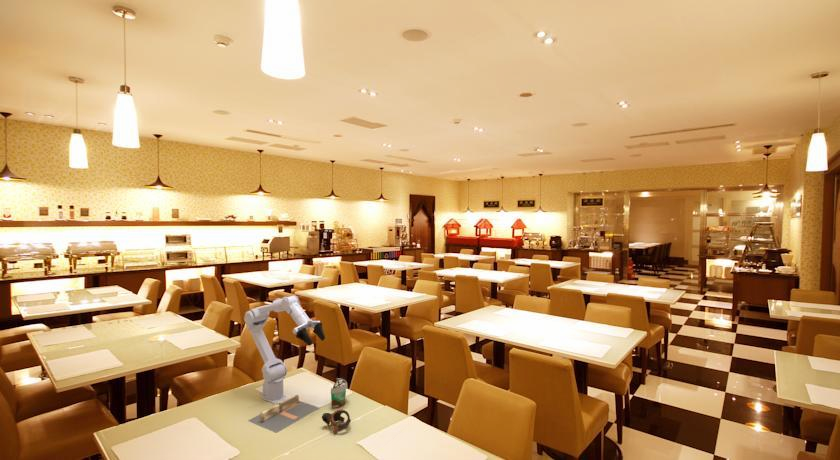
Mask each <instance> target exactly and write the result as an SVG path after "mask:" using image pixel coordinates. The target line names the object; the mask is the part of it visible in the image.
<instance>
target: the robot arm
mask: <svg viewBox="0 0 840 460" xmlns="http://www.w3.org/2000/svg"><path fill="white" fill-rule="evenodd" d="M284 311H285V312H286V313H287V314H289V315H290V317H291V319H292V320H293V321H294V322H295V324H296V325H297V326H296V327H294V328H293V329H292V333H293V334H294V335H295V338H296V339H298V340H301V341H303V343H305V344H306V345H308V346H311V345H312V344H313V340H312V339H311V337H310V335H309V334H308V331H307V330H310V329H312V328H313V330H312V333H314V334H315V335H316V336H317V337H318V338H319V339H320V340H321V341H324V340H325V339H326V336H325V333H324V330H323V323H322V322H321V321H320V320H313V319H310V317H309V316H308V315H307V313H306V312H305V310H304V309H303V307H302V306H301V305H300V300H299V297H298V296H297V295H291V296H283V297H282V298H280V297H278V298H277V297H276V298H275V299H274V300H273V301H272V303H270V304H265V305H262V306H261V305H260V306H258V307H255V308H252V309H250V310H247V311H246V312H245V313H244V317H243V319H244V322H245V325H246V327H247V329H248V331H249V332H250V335H251V337H252V339H253V341H254V344H255V346H256V348H257V351H258V352H259V354H260V356H261V359H262V361H263V366H262V368H261V372H262V378H263V380H264V381H263V383H262V396H261V397H260V398H261V400H264V401H266V402H269V403H272V404H276V403H279V402H280V401H282V400H284V399H286V398H288V395H286V394H284V379H285V377H286V375H287V374H288V367H287V365H286V364H285V363H284V362H283V360H282V359H280V358H277V357H276V355H275V354H274V351H273V349H272V348H271V345H270V343H269V341H268V339H267V337H266V334H265V332H264V330H263V328H264V327H265V326H266V323H267V321H268V319H269V316H270V312H275V313H280V312H284Z"/></svg>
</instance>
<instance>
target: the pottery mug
mask: <svg viewBox="0 0 840 460" xmlns="http://www.w3.org/2000/svg"><path fill="white" fill-rule="evenodd" d="M342 414H345V415H346V417H347V419H346V418H345V417H343V416H342ZM345 419H346V421H345ZM321 420H322V421H323V422H324V423H325V425H326V426H327V427H329V426H330V425H331V426H332V427H333V431H332V432H333V434H338V433H339V432H342V431H344V430H346V429H347V428H348V427H349V425H350V423H351V421H352V419H351V418H350V413H349V412H348V411H346V410H345V409H337V410H335V411H334V412H332V413H329V412H324V413H323V414H322V416H321ZM337 422H341V423H337ZM337 424H338V425H337Z"/></svg>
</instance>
